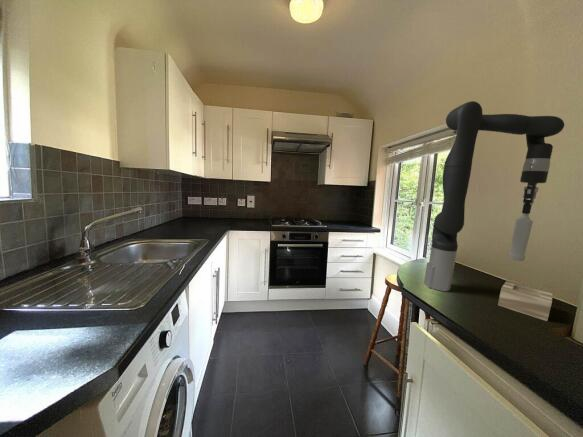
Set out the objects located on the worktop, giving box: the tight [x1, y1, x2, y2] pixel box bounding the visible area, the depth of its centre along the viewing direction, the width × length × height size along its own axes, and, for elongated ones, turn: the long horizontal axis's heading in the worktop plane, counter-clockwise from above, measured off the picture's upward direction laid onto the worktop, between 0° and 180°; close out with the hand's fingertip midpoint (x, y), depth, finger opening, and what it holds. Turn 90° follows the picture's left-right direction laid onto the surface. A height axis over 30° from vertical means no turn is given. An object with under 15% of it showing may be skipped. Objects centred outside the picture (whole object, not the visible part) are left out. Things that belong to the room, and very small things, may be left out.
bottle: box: [508, 213, 534, 262], centre depth 100 cm, size 5×5×25 cm
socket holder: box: [497, 280, 554, 322], centre depth 90 cm, size 13×13×7 cm
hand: (525, 213), depth 99 cm, fingers closed on bottle, 2 cm apart
